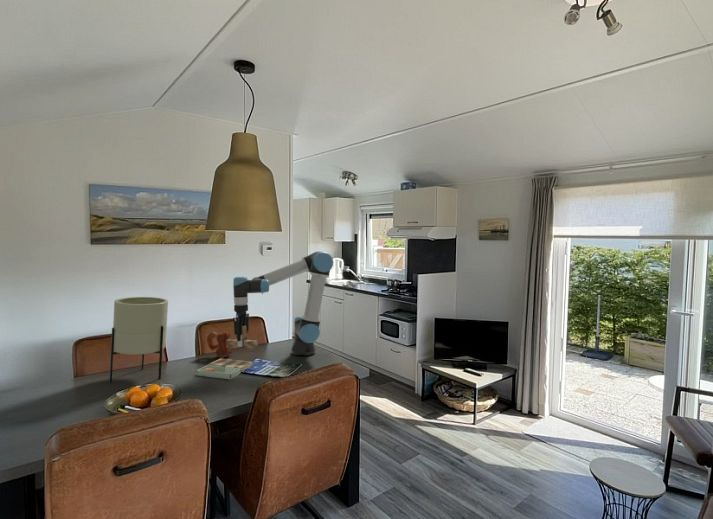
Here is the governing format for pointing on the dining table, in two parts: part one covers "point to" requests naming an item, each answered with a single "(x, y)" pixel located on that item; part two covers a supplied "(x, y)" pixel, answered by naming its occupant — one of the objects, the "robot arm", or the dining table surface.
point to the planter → (139, 327)
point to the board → (232, 363)
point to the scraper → (245, 343)
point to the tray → (218, 372)
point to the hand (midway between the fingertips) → (242, 345)
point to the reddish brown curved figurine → (219, 343)
